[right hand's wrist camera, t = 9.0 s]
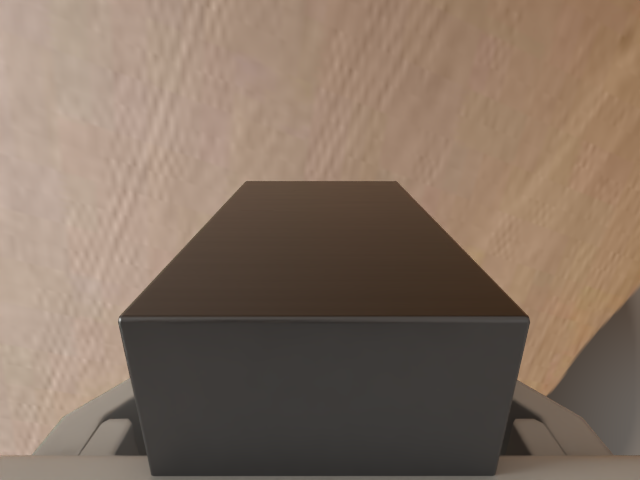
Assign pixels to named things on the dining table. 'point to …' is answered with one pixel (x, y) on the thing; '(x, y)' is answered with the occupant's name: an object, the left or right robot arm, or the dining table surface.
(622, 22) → the dining table surface
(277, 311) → the bar
